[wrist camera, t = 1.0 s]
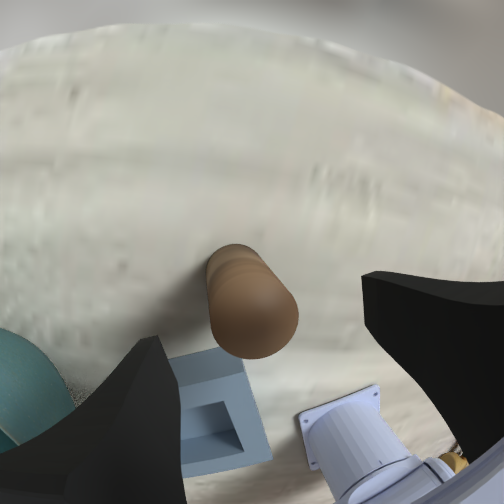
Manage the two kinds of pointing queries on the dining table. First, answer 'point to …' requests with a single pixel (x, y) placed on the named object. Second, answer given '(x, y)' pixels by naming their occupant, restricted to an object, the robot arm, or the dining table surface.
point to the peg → (248, 304)
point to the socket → (217, 414)
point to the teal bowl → (28, 392)
